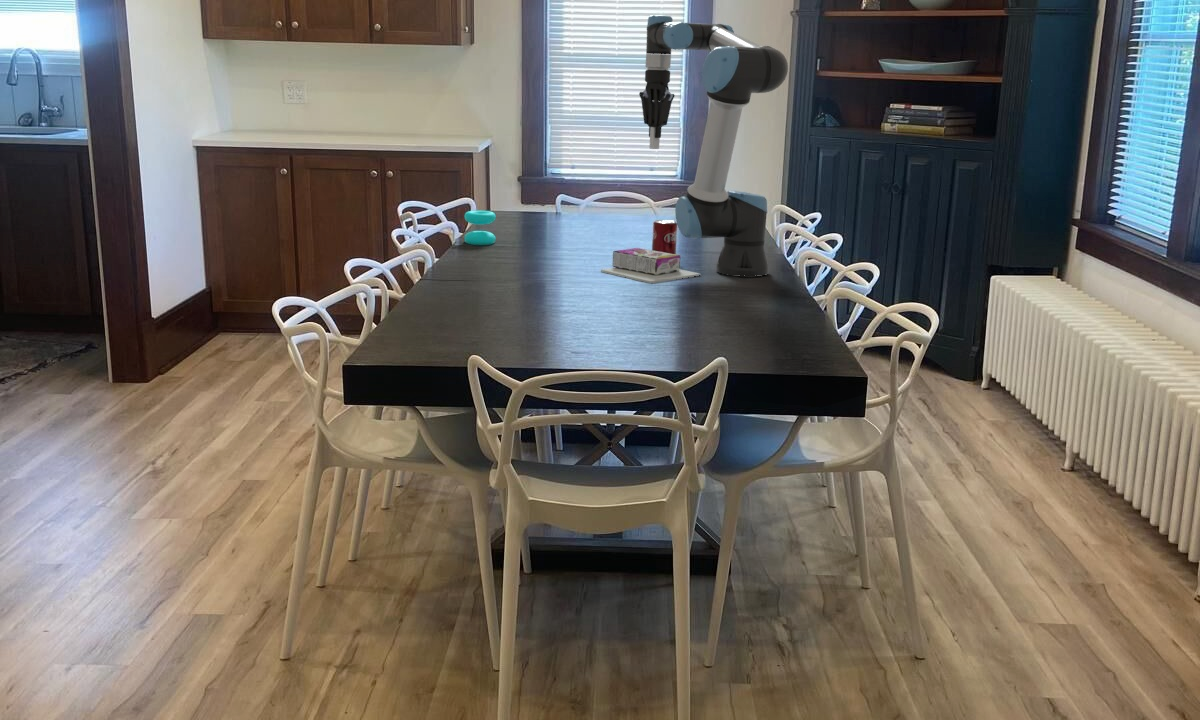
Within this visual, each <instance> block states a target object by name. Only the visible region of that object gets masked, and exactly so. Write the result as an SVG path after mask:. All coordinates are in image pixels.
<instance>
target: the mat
mask: <svg viewBox="0 0 1200 720" xmlns="http://www.w3.org/2000/svg"><path fill="white" fill-rule="evenodd" d="M600 272H601V273H604V274H605V273H606V274H610V275H614V276H616V277H617V276H619V277H622V278H625V277H626V278H625V279H629V280H630V279H631V280H634V281H639V282H642V281H643V283H647V284H657V283H662V282H663V283H664V282H669V281H675V280H676V279H677V280H681V279H682V278H683V279H689V278H695V277H694V276H696V277H700V276H701V274H702V273H700V272H695V271H689V270H685V269H681V268H680V271H678V272H672V273H666V274H660V275H653V274H648V273H642V272H637V271H632V270H627V269H622V268H617V267H610V268H604V269H603V268H602V269H600ZM699 275H700V276H699ZM688 277H689V278H688Z"/></svg>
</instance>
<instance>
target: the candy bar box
mask: <svg viewBox="0 0 1200 720" xmlns="http://www.w3.org/2000/svg"><path fill="white" fill-rule="evenodd" d="M680 266H681V255H680V254H677V253H676V254H670V253H665V252H658V251H653V250H652V249H646V248H641V247H633V248H627V249H619V250H614V251H613V252H612V268H622V269H627V270H632V271H637V272H642V273H648V274H653V275H660V274H666V273H672V272H678V271H680V269H681V267H680Z"/></svg>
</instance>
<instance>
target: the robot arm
mask: <svg viewBox="0 0 1200 720" xmlns="http://www.w3.org/2000/svg"><path fill="white" fill-rule="evenodd" d="M645 48H646V54H645V67H644V68H647V69H645V72H644V73H645V74H644V75H645V76H644V82H646V85H645V89H644V90H643V91H640V92H639V93H638V94H639V97H640V100H641V106H642V107H641V108H642V117H643V124H645V125H647V126H648V138H649V150H660V139H661V137H662V127H664V126H667V125H668V121H669V120H668V119H669V116H670V111H671V106H672V102H673V100H674V98H675V93H671V92H670V90H669V83H670V81H671V71H670V70H669V69H671V60H672V50H680V51H681V50H685V51H686V50H691V51H709V53H708V54H707V56H706V57H705V60H704V62H703V65H702V70H701V77H702V79H701V85H702V87H703V89H704V90H705V92H706V97H707V98H708V99H709V101H710V104H709V109H708V114H707V118H706V123H705V128H704V133H703V139H702V143H701V146H700V147H701V149H700V154H699V158H698V163H697V168H696V173H695V177H694V183H692V184H690V185H689V186H688V187H687V189H686V194H685V195H683V196H680V197H678V199H677V200H676V203H675V209H674V210H675V213H674V214H675V215H674V216H675V221H676V223H677V229H678V230H679V232H680V233H681V234H682V235H683V236H684V237H685V238H688V239H697V240H700V239H715V238H716V239H717V238H723V246H722V248H721V251H720V254H719V257H718V260H717V261H716V265H715V272H716V271H717V272H716V273H718V272H719V274H720V273H722V274H721V275H724V274H728V275H727V276H729V275H740V276H744V275H745V276H755V275H756V276H757V275H765V274H768V275H769V270H770V267H769V263H768V258H767V254H766V250H765V242H766V241H765V238H766V229H767V228H766V226H767V225H766V224H767V214H768V200H767V198H766V196H763V195H760V194H757V193H751V192H746V191H738V190H726V189H725V188H726V184H727V179H728V175H729V171H730V166H731V161H732V158H733V157H732V156H733V152H734V148H735V143H736V139H737V135H738V134H737V133H738V128H739V124H740V121H741V116H742V110H743V108H744V107H745V106H747V105H749V104H750V102H751V101H750V100H751V97H752V94H763V93H764V94H765V93H770V92H773V91H775V90H776V89H778V88H779V87H780V86H781V85H782V84H783V83H784V81H785V80H786V78H787V76H788V72H789V65H788V61H787V58H786V56H785V55H784V54H783V53H782V52H781V51H780V50H779V49H776V48H774V47H773V46H770V45H762V46H761V45H759V44H757V43H755V42H753V41H751V40H749V39H747V38H745V37H743V36H741V35H738V34H736V33H735V31H734V29H733V27H732V26H731V25H730V24H729V25H728V24H724V23H696V22H683V21H674V22H673V17H672V16H671V15H649V17H648V19H647V25H646V47H645Z"/></svg>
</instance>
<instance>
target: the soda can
mask: <svg viewBox="0 0 1200 720" xmlns="http://www.w3.org/2000/svg"><path fill="white" fill-rule="evenodd" d="M677 236H678V225H677V221H676V220H670V219H668V220H667V219H656V220H654V221H653V224H652V243H651V250H653V251H658V252H665V253H670V254H676V255H677V241H678V237H677Z"/></svg>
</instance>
